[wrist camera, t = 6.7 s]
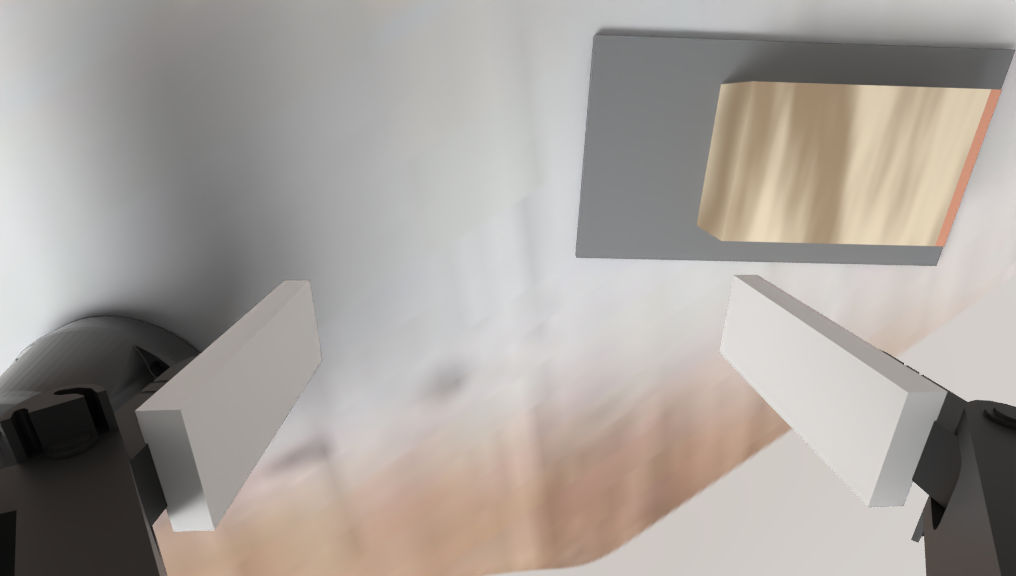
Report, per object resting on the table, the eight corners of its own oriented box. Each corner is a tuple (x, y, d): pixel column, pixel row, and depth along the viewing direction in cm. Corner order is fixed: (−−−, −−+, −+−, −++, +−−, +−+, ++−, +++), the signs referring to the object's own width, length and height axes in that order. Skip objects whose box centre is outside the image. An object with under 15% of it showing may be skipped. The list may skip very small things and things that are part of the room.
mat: (575, 255, 34) (576, 257, 34) (593, 36, 29) (595, 34, 29) (929, 263, 35) (936, 265, 34) (1005, 50, 30) (1015, 49, 29)
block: (721, 241, 29) (944, 246, 30) (752, 81, 26) (1001, 89, 27) (696, 225, 33) (894, 230, 33) (721, 84, 30) (939, 91, 30)
